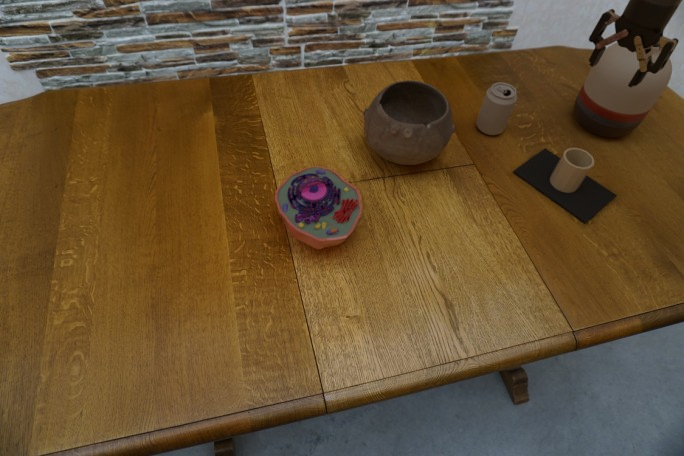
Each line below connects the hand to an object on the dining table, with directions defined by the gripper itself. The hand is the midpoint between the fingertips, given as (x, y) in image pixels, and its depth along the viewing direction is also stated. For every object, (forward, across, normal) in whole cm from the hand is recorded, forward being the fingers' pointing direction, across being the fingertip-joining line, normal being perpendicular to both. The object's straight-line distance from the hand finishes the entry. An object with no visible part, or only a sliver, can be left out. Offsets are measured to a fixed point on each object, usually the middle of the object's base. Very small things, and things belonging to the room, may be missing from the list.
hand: (612, 75), depth 92 cm
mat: (+26, +4, -4) cm, 27 cm away
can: (+26, -20, -2) cm, 33 cm away
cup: (+26, +4, -4) cm, 26 cm away
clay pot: (+26, -28, -26) cm, 46 cm away
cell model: (+26, -22, -57) cm, 67 cm away
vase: (+26, -3, +24) cm, 36 cm away
